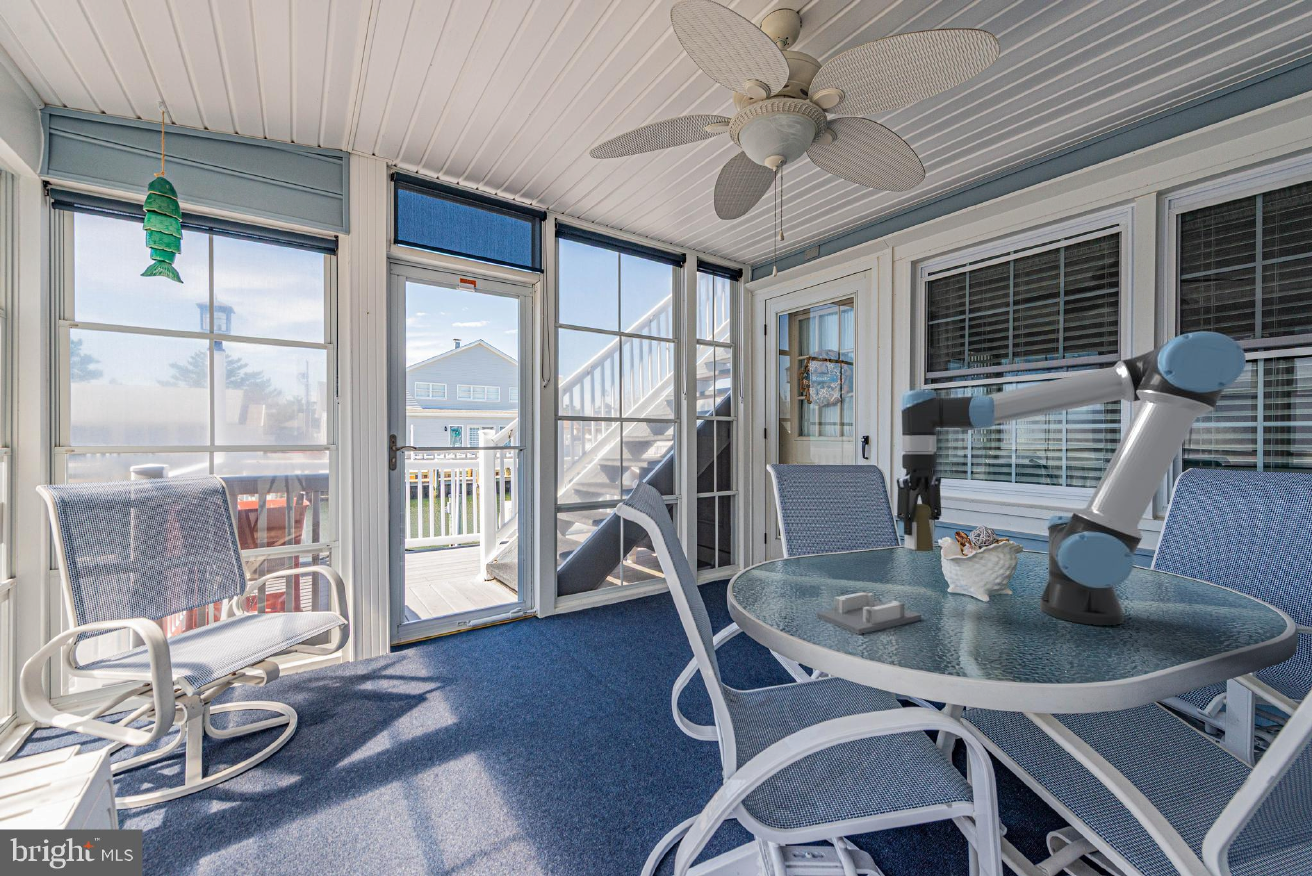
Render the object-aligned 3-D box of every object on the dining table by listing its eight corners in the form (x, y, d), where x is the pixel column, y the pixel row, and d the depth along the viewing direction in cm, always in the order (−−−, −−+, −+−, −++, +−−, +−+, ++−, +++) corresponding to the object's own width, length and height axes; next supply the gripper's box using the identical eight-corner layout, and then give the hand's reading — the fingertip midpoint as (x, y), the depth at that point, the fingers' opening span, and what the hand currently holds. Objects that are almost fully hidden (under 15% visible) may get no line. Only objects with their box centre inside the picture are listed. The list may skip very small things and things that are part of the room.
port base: (921, 619, 118) (920, 601, 119) (858, 634, 109) (858, 614, 109) (877, 605, 129) (877, 588, 129) (817, 617, 120) (817, 599, 120)
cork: (932, 552, 123) (932, 506, 123) (904, 549, 127) (904, 504, 127) (934, 547, 128) (934, 503, 129) (907, 545, 132) (907, 502, 132)
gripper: (930, 452, 135) (930, 541, 135) (879, 453, 127) (880, 548, 127) (957, 452, 129) (958, 546, 128) (906, 453, 120) (907, 554, 120)
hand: (919, 547), depth 128 cm, fingers closed on cork, 6 cm apart
